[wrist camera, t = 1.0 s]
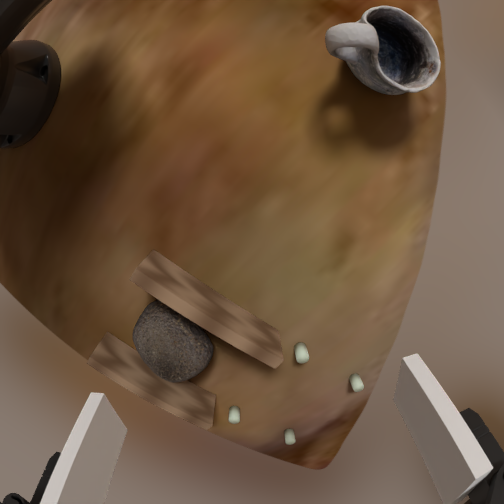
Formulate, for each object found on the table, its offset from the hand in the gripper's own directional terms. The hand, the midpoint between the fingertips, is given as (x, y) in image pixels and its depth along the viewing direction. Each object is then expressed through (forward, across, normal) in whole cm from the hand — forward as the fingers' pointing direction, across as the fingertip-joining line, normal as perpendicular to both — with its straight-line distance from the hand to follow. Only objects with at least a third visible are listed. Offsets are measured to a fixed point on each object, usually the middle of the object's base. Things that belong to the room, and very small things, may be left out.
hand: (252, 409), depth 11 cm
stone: (+23, -11, -10) cm, 27 cm away
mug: (+23, +16, +19) cm, 34 cm away
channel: (+23, -10, -11) cm, 27 cm away
